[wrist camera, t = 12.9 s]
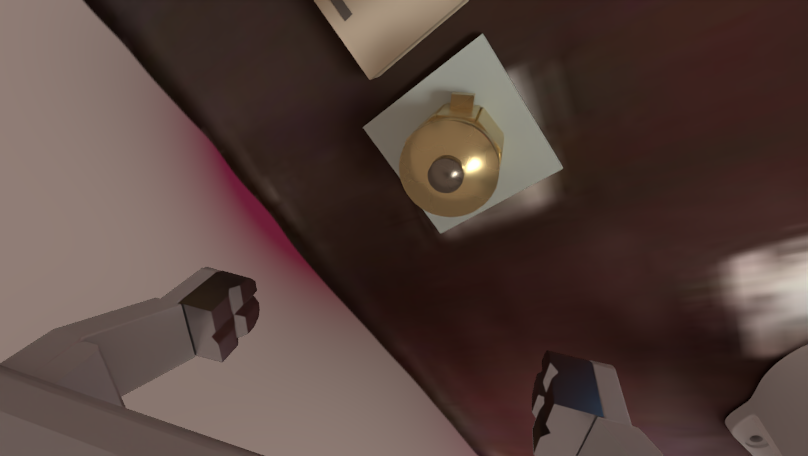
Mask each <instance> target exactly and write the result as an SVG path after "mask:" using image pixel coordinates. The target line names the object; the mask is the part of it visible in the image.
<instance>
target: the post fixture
mask: <svg viewBox="0 0 808 456" xmlns="http://www.w3.org/2000/svg"><path fill="white" fill-rule="evenodd" d="M314 1H315V3H316V4H317V6H318V7H319V9H320V10H321V11H322V13H323V14H324V16H325V17H326V19H327V20H328V21H329V23H330V24H331V26H332V27H333V29H334V30H335V31H336V33H337V34H338V36H339V37H340V39H341V40H342V41H343V43H344V44H345V46H346V47H347V48H348V50H349V51H350V53H351V54H352V56H353V57H354V58H355V60H356V61H357V63H358V64H359V66H360V67H361V68H362V70H363V71H364V73H365V74H366V76H367V77H368V78H369V80H371V79H374V78H376V77H379V76H380V75H382V74H383V73H384V72H385V71H386V70H387V69H389V68H390V67H391V66H392V65H393V64H395V63H396V62H397V61H398V60H399V59H400V58H402V57H403V56H404V55H405V54H406V53H408V52H409V51H410V50H411V49H412V48H413V47H415V46H416V45H417V44H418V43H419V42H421V41H422V40H423V39H424V38H425V37H426V36H428V35H429V34H430V33H431V32H432V31H434V30H435V29H436V28H437V27H438V26H439V25H441V24H442V23H443V22H444V21H445V20H447V19H448V18H449V17H450V16H451V15H452V14H454V13H455V12H456V11H457V10H458V9H460V8H461V7H462V6H463V5H464V4H465V3H467V2H468V1H469V0H314Z"/></svg>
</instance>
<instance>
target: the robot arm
mask: <svg viewBox="0 0 808 456" xmlns="http://www.w3.org/2000/svg"><path fill="white" fill-rule="evenodd" d="M256 291H257V288H256V283H255V281H254V280H253V279H251V278H247V277H243V276H240V275H236V274H233V273H228V272H225V271H220V270H216V269H213V268H209V267H205V268H201V269H200V270H199V271H197V272H196V273H194V274H193V275H192V276H190V277H189V278H188V279H187V280H185V281H184V282H182V283H181V284H180V285H178V286H177V287H176V288H174V289H173V290H172V291H170V292H169V293H168V294H166V295H165V296H164V297H162V298H161V299H159V298H154V299H150V300H147V301H144V302H140V303H137V304H134V305H131V306H127V307H124V308H121V309H118V310H115V311H111V312H108V313H105V314H102V315H98V316H95V317H92V318H88V319H85V320H82V321H79V322H75V323H72V324H69V325H66V326H63V327H59V328H56V329H53V330H51V331H50V332H48V333H47V334H45V335H44V336H42V337H41V338H39V339H37V340H36V341H34V342H33V343H31V344H30V345H28V346H27V347H25V348H24V349H22V350H20V351H19V352H17V353H16V354H14V355H13V356H11V357H9V358H8V359H6V360H5V361H3V362H2V363H0V456H264V455H260V454H257V453H255V452H252V451H249V450H246V449H243V448H240V447H237V446H234V445H231V444H228V443H226V442H223V441H220V440H216V439H214V438H211V437H208V436H205V435H202V434H199V433H197V432H194V431H191V430H188V429H185V428H182V427H179V426H176V425H173V424H170V423H167V422H165V421H162V420H159V419H156V418H153V417H150V416H147V415H144V414H141V413H138V412H135V411H132V410H129V409H127V408H126V407H125V405H124V403H123V400H122V398H121V396H123V395H125V394H127V393H129V392H131V391H133V390H134V389H136V388H138V387H140V386H142V385H144V384H146V383H147V382H149V381H151V380H153V379H155V378H157V377H159V376H160V375H162V374H164V373H166V372H168V371H170V370H172V369H173V368H175V367H177V366H179V365H181V364H183V363H185V362H186V361H188V360H190V359H192V358H194V357H195V355H196V356H200V357H204V358H208V359H211V360H215V361H219V362H223V361H224V360H225V359H226V358H227V357H228V356H229V355H230V353H231V352H232V351H233V350H234V349H235V348H236V347H237V346H238V338H239V337H242V336H244V335H246V334H248V333H249V332H250V331H251V330H252V328H253V327H254V326H255V324H256V321H257V319H258V317H259V302H258V301H257V300H256V298H255V297H254V296H253V295H254V293H255V292H256ZM532 413H533V414H534V416H535V417H536V421H535V423H534V426H533V453H534V455H536V456H664V455H663V454H662V453H661V452H660V450H659V449H658V448H657V447H656V446H655V445H654V444H653V443H652V442H651V441H650V440H649V438H648V437H647V436H646V435H645V434H644V433H643V432H642V431H641V430H640V429H639V428H637V427H634V426H632V425H631V421H630V418H629V415H628V411H627V408H626V404H625V401H624V397H623V394H622V390H621V387H620V383H619V380H618V376H617V373H616V370H615V368H614V367H613V366H612V365H609V364H604V363H600V362H596V361H591V360H590V361H589V360H586V359H582V358H577V357H573V356H569V355H565V354H560V353H556V352H552V351H548V350H547V351H546V353H545V354H544V357H543V359H542V372H540V373H538V374H537V377H536V380H535V383H534V388H533V393H532ZM725 425H726V426H727V428H728V429H729V431H730V432H731V434H732V435H733V436H734V438H735V439H736V440H737V441H739V442H740V443H741V444H742V445H743V446H744V447H745V448H746V449H747V450H748V451H749V452H750V453H751V454H752V455H753V456H808V344H807V345H805V346H803V347H801V348H799V349H797V350H795V351H794V352H792V353H790V354H789V355H787V356H786V357H784V358H783V359H781V360H780V361H779V362H777V363H776V364H775V365H774V366H773V367H772V368H771V369H770V370H769V371H768V372H767V373H766V374H765V375H764V377H763V378H762V379H761V381H760V383H759V384H758V386H757V388H756V390H755V392H754V394H753V395H752V397H751V398H750V399H749V401H748V402H746V403H745V404H743V405H742V406H740V407H739V408H737V409H736V410H734V411H733V412H732V413H731V414H730V415H728V416H727V418H726V419H725Z"/></svg>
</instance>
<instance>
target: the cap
mask: <svg viewBox="0 0 808 456" xmlns="http://www.w3.org/2000/svg"><path fill="white" fill-rule="evenodd" d="M475 95H476V93H465V92H453V93H452V94H451V103H448V102H447V104H443V105H442V106H441V107H440V108H439V109H438V110H437V111H435V112H434V113H433V114H432V115H431V116H430V117H428V118H427V119H426V120H425V121H424V122H423V123H422V124H420V125H419V126H418V128H417V129H416V130H415V131H414V132H413V133H412V134H411V135H410V136H409V137H408V138H407V139H406V141H405V146H404V147H403V150H402V152H401V156H400V160H399V174H400V179H401V183H402V185H403V188H404V190H405V191H406V193H407V195H408V196H409V197H410V199H411V200H412V201H413V202H414V203H415V204H416V205H418V206H419V207H420V208H422V209H423V210H425V211H427V212H429V213H431V214H434V215H437V216H442V217H459V216H464V215H467V214H470V213H472V212H474V211H476V210H478V209H479V208H480V207H482V206H483V205H484V204H485V203H486V202H487V201H488V200H489V199H490V197H491V196H492V194H493V193H494V191H495V189H496V188H497V183H498V179H499V170H500V165H501V159H502V153H503V144H504V136H503V135H504V133H503V132H502V131H501V129H500V128H499V127H498V125H497V124H496V123H495V121H494V120H493V119H492V118H491V116H490V115H489V114H488V112H487V111H486V110H485V108H484V107H483V108H482V109H480V108H481V106H480V105H474V102H475Z"/></svg>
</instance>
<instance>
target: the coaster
mask: <svg viewBox="0 0 808 456" xmlns="http://www.w3.org/2000/svg"><path fill="white" fill-rule="evenodd" d="M453 92H465V93H476V95H475V102H474V105H480V106H481V108H480V109H482V108H483V107H484V108H485V110H486V111H487V112H488V114H489V115H490V116H491V118H492V119H493V120H494V121H495V123H496V124H497V125H498V127H499V128H500V129H501V131H502V132H503V133H504V135H503V136H504V144H503V153H502V159H501V165H500V170H499V179H498V183H497V188H496V189H495V191H494V193H493V194H492V196H491V197H490V199H489V200H488V201H487V202H486V203H485V204H484V205H483V206H482V207H480V208H479V209H478V210H476V211H474V212H472V213H470V214H467V215H464V216H459V217H442V216H437V215H434V214H431V213H429V212H427V211H425V210H424V212H425V213H426V215H427V216H428V217H429V219H430V220H431V221H432V223H433V224H434V225H435V227H436V228H437V230H438V231H439V232H440V234H441V233H443V232H445V231H447V230H449V229H451V228H453V227H454V226H456V225H458V224H460V223H462V222H464V221H466V220H468V219H469V218H471V217H473V216H475V215H477V214H479V213H481V212H483V211H484V210H486V209H488V208H490V207H492V206H494V205H496V204H498V203H499V202H501V201H503V200H505V199H507V198H509V197H511V196H513V195H515V194H516V193H518V192H520V191H522V190H524V189H526V188H528V187H530V186H531V185H533V184H535V183H537V182H539V181H541V180H543V179H545V178H546V177H548V176H550V175H552V174H554V173H556V172H558V171H560V170H561V169H563V167H562V165H561V163H560V161H559V160H558V158H557V156H556V155H555V153H554V151H553V150H552V148H551V146H550V145H549V143H548V141H547V140H546V138H545V136H544V135H543V133H542V131H541V130H540V128H539V126H538V125H537V123H536V121H535V119H534V118H533V116H532V114H531V113H530V111H529V109H528V108H527V106H526V104H525V103H524V101H523V99H522V98H521V96H520V94H519V93H518V91H517V89H516V88H515V86H514V84H513V83H512V81H511V79H510V78H509V76H508V74H507V73H506V71H505V69H504V68H503V66H502V64H501V63H500V61H499V59H498V58H497V56H496V54H495V53H494V51H493V49H492V48H491V46H490V44H489V43H488V41H487V39H486V38H485V36H484V34H481V35H480V36H479V37H477V38H476V39H475V40H474V41H472V42H471V43H470V44H468V45H467V46H466V47H465V48H463V49H462V50H461V51H460V52H458V53H457V54H456V55H454V56H453V57H452V58H451V59H449V60H448V61H447V62H446V63H444V64H443V65H442V66H440V67H439V68H438V69H437V70H435V71H434V72H433V73H431V74H430V75H429V76H428V77H426V78H425V79H424V80H423V81H421V82H420V83H419V84H417V85H416V86H415V87H414V88H412V89H411V90H410V91H408V92H407V93H406V94H405V95H403V96H402V97H401V98H400V99H398V100H397V101H396V102H394V103H393V104H392V105H391V106H389V107H388V108H387V109H386V110H384V111H383V112H382V113H380V114H379V115H378V116H377V117H375V118H374V119H373V120H371V121H370V122H369V123H368V124H366V125H365V126H364V127H363V128H364V130H365V131H366V133H367V134H368V135H369V137H370V138H371V139H372V141H373V142H374V144H375V145H376V146H377V148H378V149H379V150H380V152H381V153H382V154H383V156H384V157H385V159H386V160H387V161H388V163H389V164H390V165H391V167H392V168H393V169H394V171H395V172H396V174H397V175H398V176H399V178H400V174H399V160H400V156H401V152H402V150H403V147H404V146H405V141H406V139H407V138H408V137H409V136H410V135H411V134H412V133H413V132H414V131H415V130H416V129H417V128H418V126H419V125H420V124H422V123H423V122H424V121H425V120H426V119H427V118H428V117H430V116H431V115H432V114H433V113H434V112H435V111H437V110H438V109H439V108H440V107H441V106H442V105H443V104H447V102H448V103H451V94H452V93H453Z"/></svg>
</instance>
